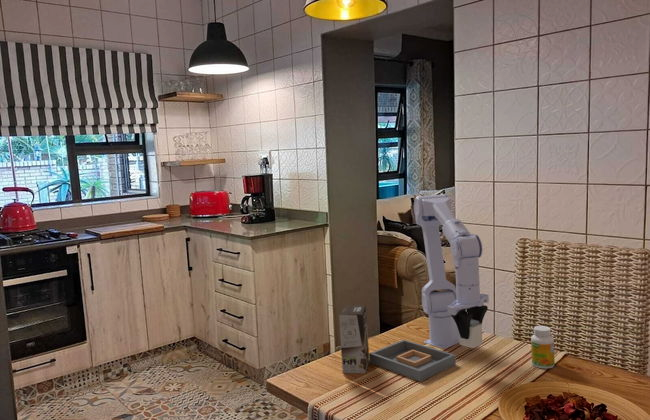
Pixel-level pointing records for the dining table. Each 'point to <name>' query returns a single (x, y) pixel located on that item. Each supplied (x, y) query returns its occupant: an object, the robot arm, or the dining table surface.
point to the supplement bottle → (542, 348)
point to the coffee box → (354, 339)
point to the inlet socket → (413, 352)
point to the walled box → (388, 360)
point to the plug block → (473, 335)
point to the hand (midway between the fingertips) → (470, 335)
